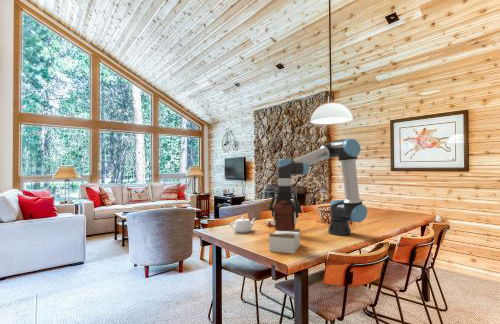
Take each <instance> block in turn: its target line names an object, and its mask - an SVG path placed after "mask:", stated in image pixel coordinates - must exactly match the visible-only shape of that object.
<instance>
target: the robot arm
mask: <svg viewBox="0 0 500 324" xmlns="http://www.w3.org/2000/svg"><path fill="white" fill-rule="evenodd" d="M361 151H362V150H361V145H360V143H359V141H358V140H357V139H355V138H344V139H336V140H332V141H330V142H329V143H326V144H324V145H321V146H320V147H319V148H318V149H316V150H314V151H311V152H308V153H306V154H304V155H301V156H299V157H296V158H293V159H291V158H279V159H278V161H277V194H276V193H273V194H272V199H271V201H270V204H269V207H268V211H271V217H272V218H273V220H274V223H275V222H276V220H275V219H274V207H275V205H276V204H278V202H279V201H281V200H283V199H284V200H287V201H288V202H289V203H290V204H291V206H292V207H293V209H294V210H295V212H294V224H295V225H296V224H297V222H298V221H297V219H298V218H299V212H301V211H302V207H301V205H300V202H299V200H298V195H297V193H294V194H292V186H291V185H292V176H303V175H307V174H308V173H309V172H310V165H312V164H317V162H321V161H323V160H328V159H332V158H338V162H340V163H341V171H342V180H343V187H344V188H343V189H344V197H345V199H336V200H335V199H334V200H331V201H330V205H329V207H330V208H329V211H330V223H329V226H328V230H327V232H328V234H330V235H334V236H350V235H351V234H352V230H351V226H350V224H349V221H350V222H352V223H361V222H363V221H365V219H366V218H367V216H368V208H367V206H366V205H364V204H363V200H362V199H361V198H360V193H359V192H360V191H359V190H360V189H359V185H358V184H359V182H358V175H357V173H358V172H357V163H356V161H358V156H359V155H360V153H361ZM277 198H278V199H277ZM276 199H277V201H276V203H275V200H276ZM291 199H294V201H293V202H292V200H291ZM294 202H295V204H294Z"/></svg>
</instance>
